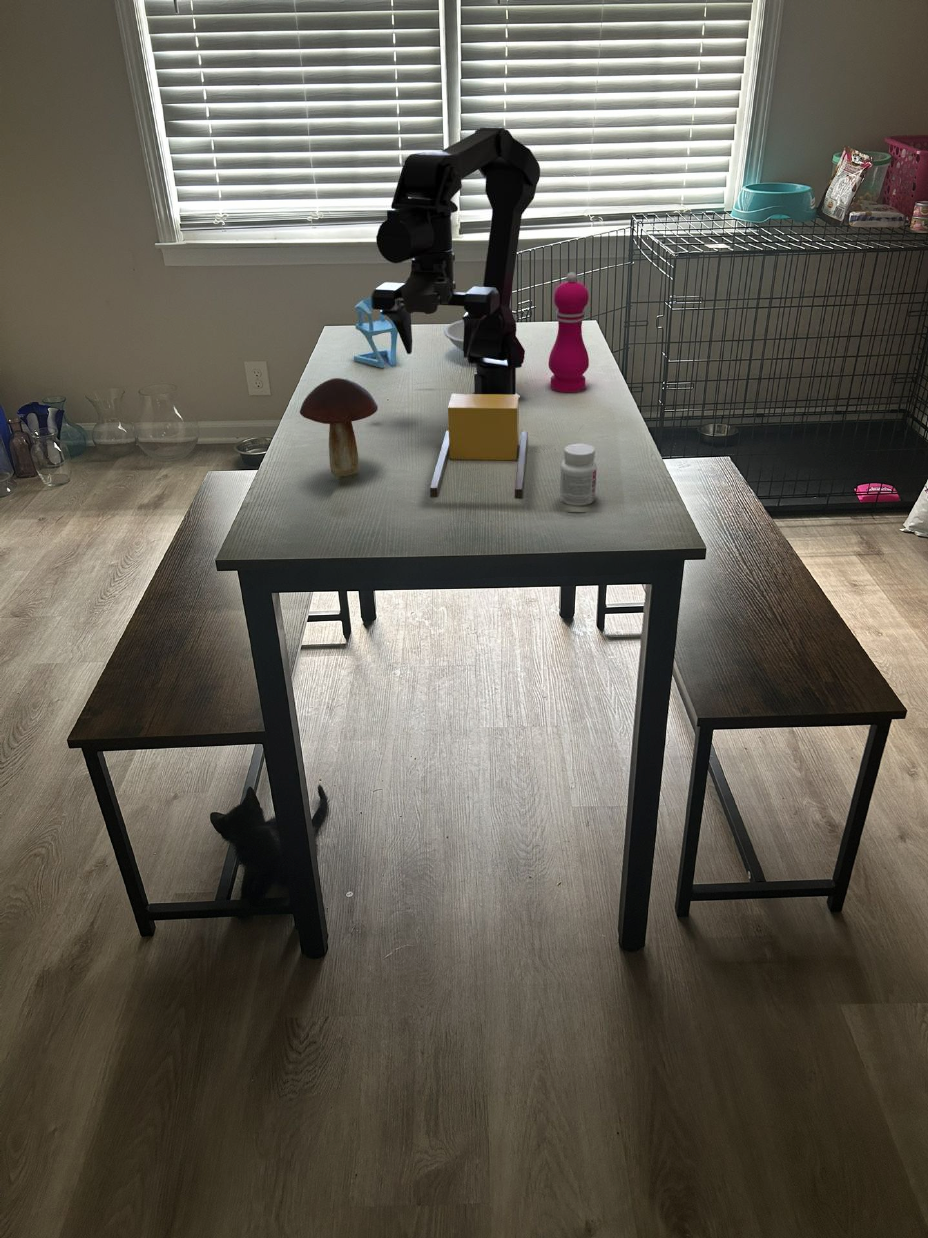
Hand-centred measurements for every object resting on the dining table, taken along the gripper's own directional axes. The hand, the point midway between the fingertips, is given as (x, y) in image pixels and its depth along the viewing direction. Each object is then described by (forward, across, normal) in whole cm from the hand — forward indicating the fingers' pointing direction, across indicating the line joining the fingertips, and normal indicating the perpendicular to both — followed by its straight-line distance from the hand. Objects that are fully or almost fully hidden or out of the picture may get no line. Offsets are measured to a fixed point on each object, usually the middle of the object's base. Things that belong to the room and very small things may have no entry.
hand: (437, 355), depth 147 cm
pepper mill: (+13, +15, +27) cm, 34 cm away
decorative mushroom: (+13, -8, -21) cm, 26 cm away
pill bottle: (+13, +27, -22) cm, 37 cm away
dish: (+13, -6, +43) cm, 45 cm away
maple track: (+13, +11, -15) cm, 22 cm away
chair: (+13, -24, +34) cm, 43 cm away
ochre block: (+11, +10, -9) cm, 18 cm away
